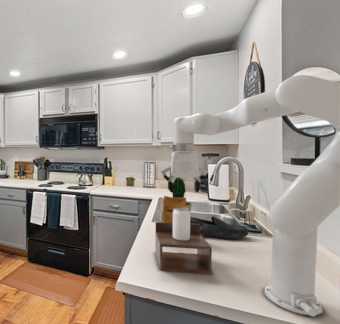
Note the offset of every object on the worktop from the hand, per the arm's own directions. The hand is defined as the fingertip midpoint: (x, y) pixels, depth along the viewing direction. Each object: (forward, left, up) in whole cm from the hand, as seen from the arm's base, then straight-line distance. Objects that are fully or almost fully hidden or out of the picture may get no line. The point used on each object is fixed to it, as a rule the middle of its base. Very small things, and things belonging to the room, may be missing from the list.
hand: (183, 191), depth 88 cm
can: (0, +1, -19) cm, 19 cm away
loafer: (+32, -24, -29) cm, 50 cm away
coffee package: (+25, -1, -29) cm, 38 cm away
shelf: (0, +1, -29) cm, 29 cm away
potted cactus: (+44, -7, -29) cm, 53 cm away
